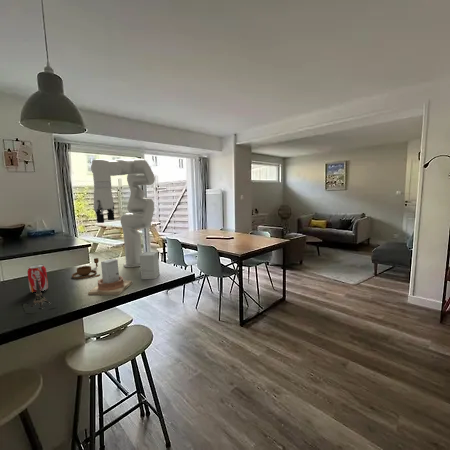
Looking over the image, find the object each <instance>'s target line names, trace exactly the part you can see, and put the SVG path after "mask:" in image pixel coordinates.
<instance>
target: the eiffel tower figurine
mask: <svg viewBox="0 0 450 450" xmlns="http://www.w3.org/2000/svg"><path fill="white" fill-rule="evenodd" d="M50 302H51V301H49V300H48V299H47V298H46V297H45V296H44V295H43V292H41V291H40V288H39V283H38V278H37V276H36V293H35V298H34V299H33V302H32V303H31V305H30V307H33V306H34V305H36V304H37V303H38V304H39V305H40V307H43V303H50ZM50 304H51V303H50Z"/></svg>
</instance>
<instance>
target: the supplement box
mask: <svg viewBox="0 0 450 450" xmlns="http://www.w3.org/2000/svg"><path fill="white" fill-rule="evenodd" d="M159 262H160V261H159V251H144V252H142V254H141V255H140V266H139V267H140V273H141V274H140V276H141V280H156V278H158V276H160V264H159Z"/></svg>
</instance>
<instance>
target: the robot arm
mask: <svg viewBox="0 0 450 450" xmlns="http://www.w3.org/2000/svg"><path fill="white" fill-rule="evenodd" d="M90 170H91V173H92V178H93V186H94V187H93V189H94V190H93V209H94V212H95V215H96V222H97V224H103V223H105V215H104V211H107V212H106V213H107V221H114V220H115V202H114V198H113V192H112V177H115V176H125V175H127V176H126V181H127V184H128V187H129V190H130V194H129V199H128V203H127V208H126V209H127V211H128V212H126V213H123V214H121V216H120V225H121V228H122V234H123V244H124V255H125V262H124V263H122V266H123V267H125V268H138V267H141V266H140V255H141V254H143V251H142V240H141V239H142V236H141V233H140V232H139V230H141V229H149V228H150V227H151V225H152V221H153V216H154V211H155V202H154V201H153V199H152V198H149V197H145V196H146V194H145V191H144V190H143V189H142V188H141V187H140V186H152V185H153V184H154V183H155V180H156V179H155V178H156V177H155V174H154V172H153V170H152V168H151V166H150V165H149V162H148V161H147V160H146V159H144V158H132V159H131V158H129V159H127V158H124V159H112V160H111V159H109V160H108V159H103V158H100V159H99V158H96V159H93V160H92V162H91V165H90Z"/></svg>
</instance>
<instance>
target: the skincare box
mask: <svg viewBox="0 0 450 450" xmlns="http://www.w3.org/2000/svg"><path fill="white" fill-rule="evenodd" d="M100 266H101V275H102V277H101V279H102V278H103V283H113V282H116V281H119V276H120V275H119V274H120V272H119V271H120V270H119V262H118V259H115V258H110V259H106V260H101V262H100Z"/></svg>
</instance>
